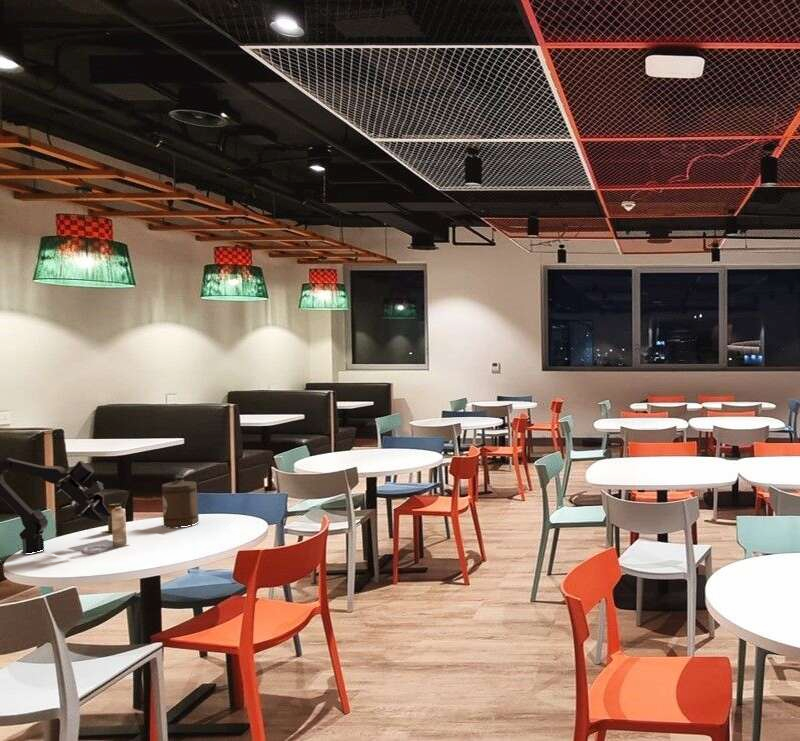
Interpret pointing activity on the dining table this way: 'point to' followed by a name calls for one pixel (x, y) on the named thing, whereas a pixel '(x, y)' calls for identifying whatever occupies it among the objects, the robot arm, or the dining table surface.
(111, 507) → the condiment
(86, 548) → the baseplate
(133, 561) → the dining table surface
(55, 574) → the dining table surface
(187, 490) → the wooden container
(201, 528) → the dining table surface
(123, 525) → the beige wooden pepper mill
